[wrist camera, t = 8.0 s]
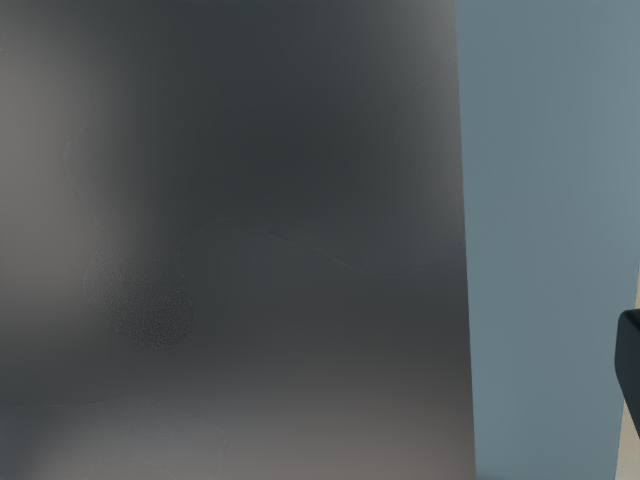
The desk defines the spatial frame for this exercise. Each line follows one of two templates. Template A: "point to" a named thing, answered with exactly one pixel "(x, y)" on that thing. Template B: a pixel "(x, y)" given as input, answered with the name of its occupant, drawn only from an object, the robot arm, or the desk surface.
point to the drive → (232, 241)
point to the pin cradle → (549, 227)
